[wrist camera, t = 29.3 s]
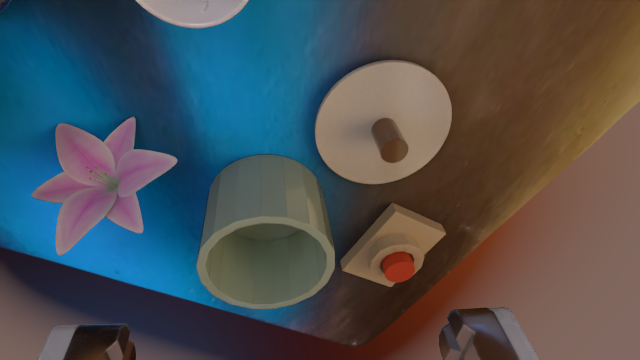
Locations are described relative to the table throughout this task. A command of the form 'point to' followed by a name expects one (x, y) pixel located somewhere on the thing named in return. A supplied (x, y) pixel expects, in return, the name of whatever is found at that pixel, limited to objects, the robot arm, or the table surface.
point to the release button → (398, 266)
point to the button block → (392, 243)
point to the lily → (99, 180)
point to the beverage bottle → (4, 4)
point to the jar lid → (383, 121)
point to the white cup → (193, 11)
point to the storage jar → (265, 234)
